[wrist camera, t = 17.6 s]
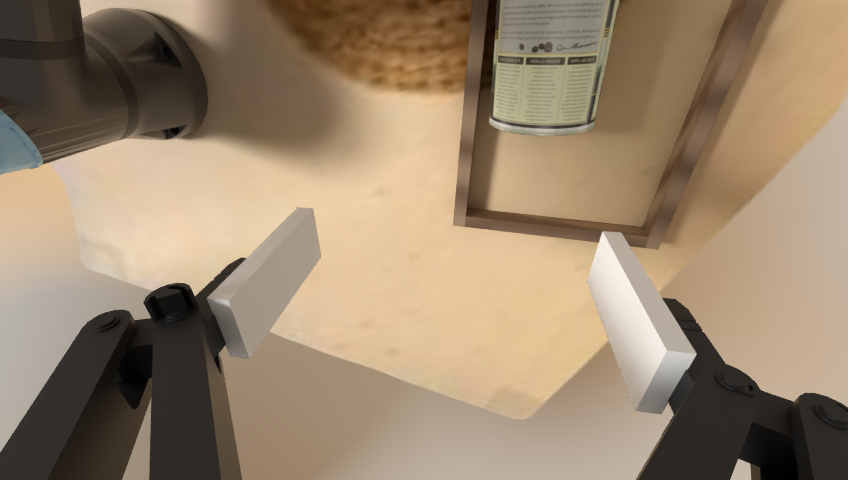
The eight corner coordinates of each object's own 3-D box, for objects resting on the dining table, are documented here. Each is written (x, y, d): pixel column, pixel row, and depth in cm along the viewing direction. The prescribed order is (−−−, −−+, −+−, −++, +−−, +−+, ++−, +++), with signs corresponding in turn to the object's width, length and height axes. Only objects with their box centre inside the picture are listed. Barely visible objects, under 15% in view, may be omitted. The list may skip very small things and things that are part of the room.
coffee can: (475, 116, 40) (483, -44, 33) (562, 110, 41) (587, -44, 34) (508, 140, 31) (528, -70, 24) (617, 132, 33) (667, -70, 25)
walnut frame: (650, 239, 46) (658, 249, 44) (455, 216, 49) (453, 225, 47) (800, -117, 29) (824, -128, 27) (484, -113, 32) (483, -123, 30)
